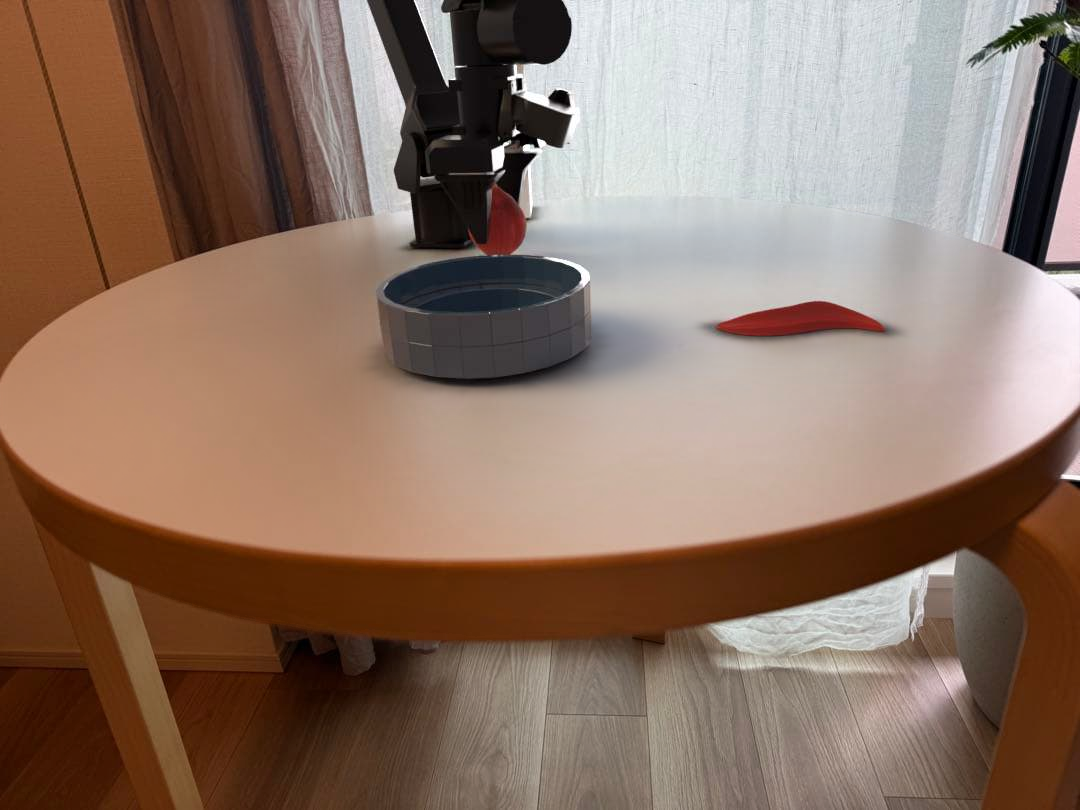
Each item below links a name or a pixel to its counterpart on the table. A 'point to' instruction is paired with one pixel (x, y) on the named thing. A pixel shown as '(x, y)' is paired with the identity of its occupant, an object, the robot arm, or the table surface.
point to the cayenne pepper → (799, 320)
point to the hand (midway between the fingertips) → (497, 232)
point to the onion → (504, 225)
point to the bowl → (485, 315)
